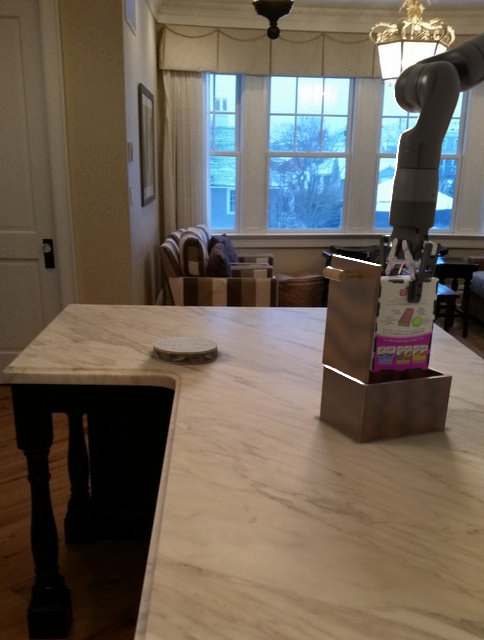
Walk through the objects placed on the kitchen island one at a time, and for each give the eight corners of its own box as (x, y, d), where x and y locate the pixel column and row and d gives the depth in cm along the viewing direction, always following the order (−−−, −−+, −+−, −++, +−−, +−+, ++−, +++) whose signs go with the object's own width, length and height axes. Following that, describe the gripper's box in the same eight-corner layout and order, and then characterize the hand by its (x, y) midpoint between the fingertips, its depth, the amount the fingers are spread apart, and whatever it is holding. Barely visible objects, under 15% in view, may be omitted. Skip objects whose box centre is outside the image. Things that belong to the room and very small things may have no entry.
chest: (398, 409, 141) (405, 357, 137) (444, 432, 130) (452, 375, 126) (319, 420, 134) (323, 365, 130) (359, 445, 122) (366, 386, 118)
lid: (335, 254, 123) (310, 255, 121) (382, 265, 111) (355, 265, 109) (325, 363, 130) (301, 364, 128) (368, 383, 118) (342, 385, 116)
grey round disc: (156, 365, 167) (156, 353, 165) (150, 348, 181) (150, 337, 180) (222, 363, 170) (223, 351, 169) (211, 347, 184) (211, 336, 183)
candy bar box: (416, 363, 132) (427, 274, 126) (429, 370, 127) (441, 278, 121) (360, 365, 129) (369, 274, 123) (371, 373, 125) (380, 279, 119)
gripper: (461, 200, 113) (446, 305, 119) (405, 195, 125) (394, 291, 131) (423, 200, 110) (410, 308, 116) (370, 195, 122) (361, 293, 128)
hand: (402, 299), depth 124 cm, fingers closed on candy bar box, 5 cm apart
